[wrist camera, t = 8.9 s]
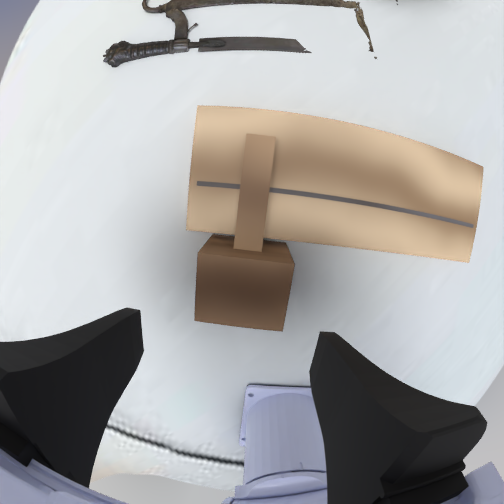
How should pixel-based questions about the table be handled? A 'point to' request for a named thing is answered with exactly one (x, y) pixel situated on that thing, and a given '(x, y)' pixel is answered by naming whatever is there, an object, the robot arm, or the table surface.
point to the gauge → (246, 256)
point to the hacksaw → (182, 44)
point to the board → (336, 184)
